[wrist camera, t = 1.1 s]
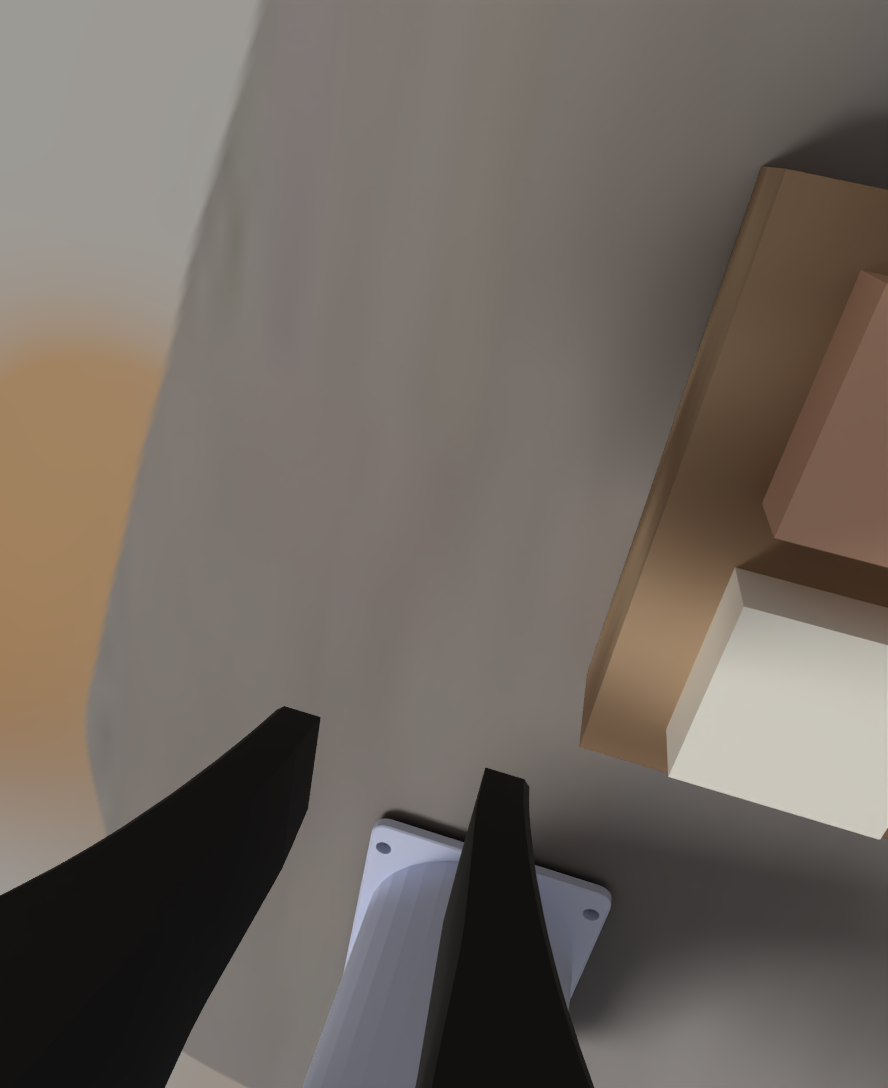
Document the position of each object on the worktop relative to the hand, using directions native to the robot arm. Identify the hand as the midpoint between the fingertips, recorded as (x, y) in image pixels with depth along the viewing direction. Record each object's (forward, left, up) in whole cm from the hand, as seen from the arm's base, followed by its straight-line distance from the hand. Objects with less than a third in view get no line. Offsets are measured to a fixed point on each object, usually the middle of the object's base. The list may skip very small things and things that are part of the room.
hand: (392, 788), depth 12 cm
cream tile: (0, -8, -6) cm, 10 cm away
